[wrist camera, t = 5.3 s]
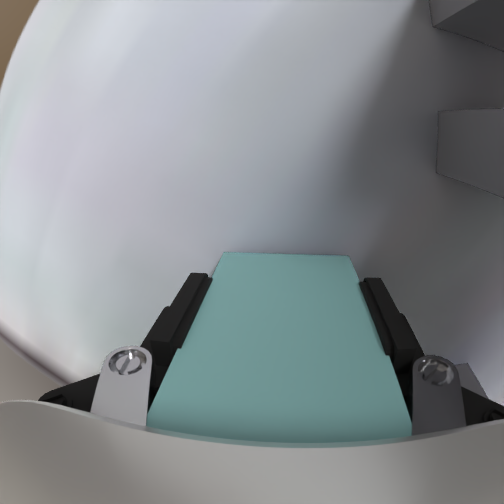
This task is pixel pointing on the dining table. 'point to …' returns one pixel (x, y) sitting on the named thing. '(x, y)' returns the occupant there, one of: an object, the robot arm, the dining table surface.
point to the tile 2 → (472, 147)
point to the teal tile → (282, 358)
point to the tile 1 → (471, 19)
